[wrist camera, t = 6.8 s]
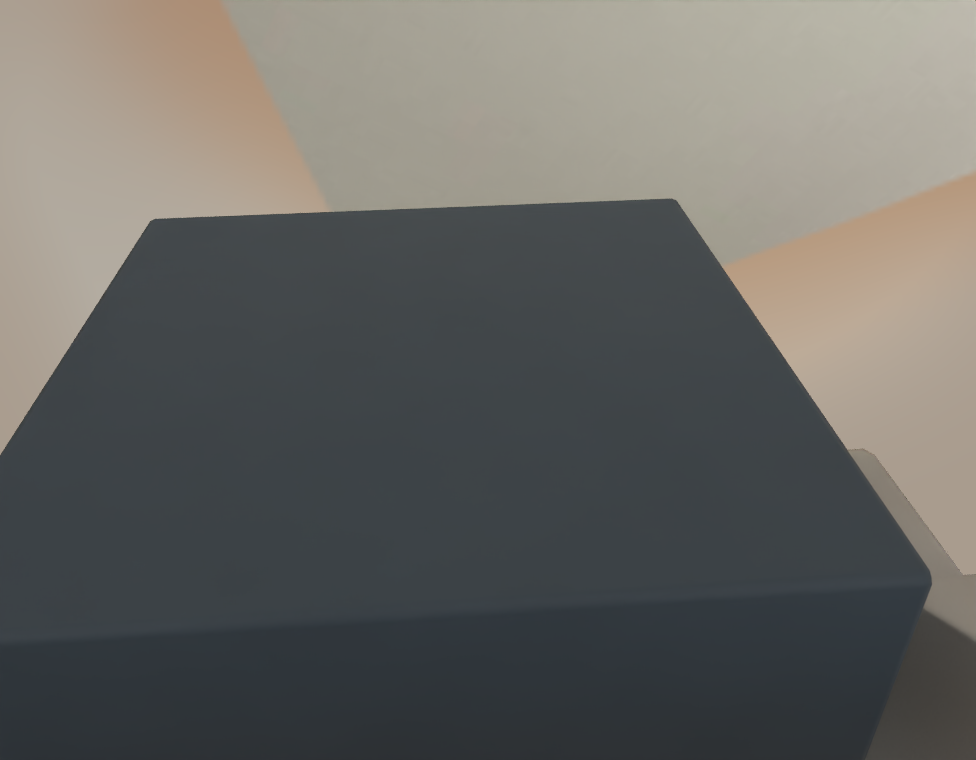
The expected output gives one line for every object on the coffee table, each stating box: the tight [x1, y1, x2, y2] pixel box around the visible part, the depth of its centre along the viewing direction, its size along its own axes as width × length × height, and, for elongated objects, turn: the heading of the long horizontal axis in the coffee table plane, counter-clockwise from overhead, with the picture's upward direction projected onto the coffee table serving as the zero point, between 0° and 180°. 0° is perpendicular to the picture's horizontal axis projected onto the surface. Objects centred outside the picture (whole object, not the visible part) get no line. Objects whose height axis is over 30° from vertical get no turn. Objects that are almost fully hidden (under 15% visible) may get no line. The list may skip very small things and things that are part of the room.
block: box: [0, 199, 932, 760], centre depth 7 cm, size 5×5×5 cm
